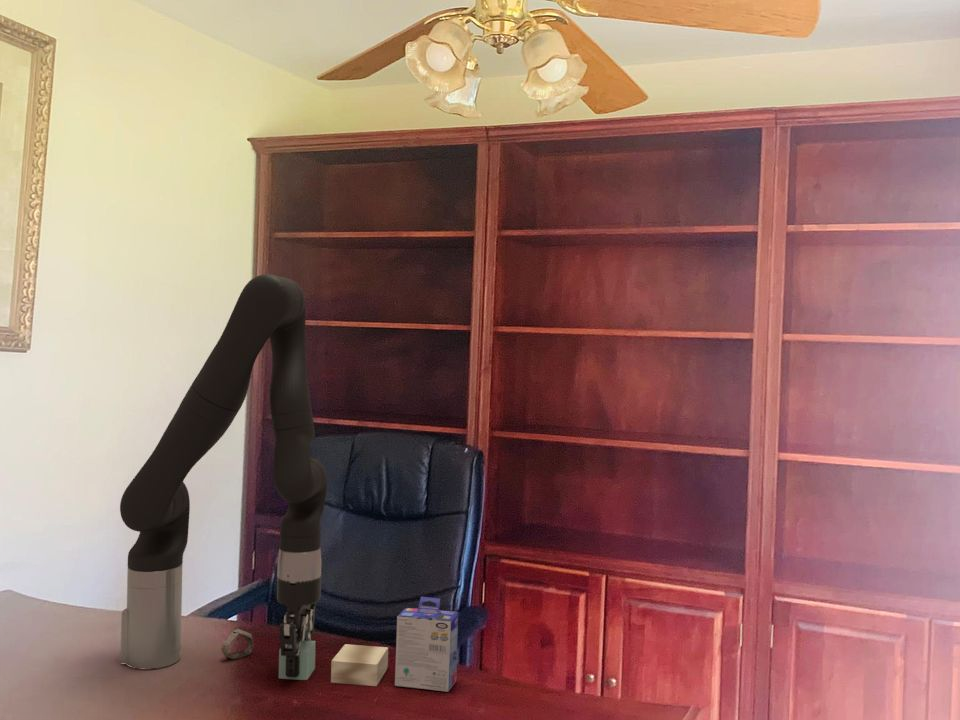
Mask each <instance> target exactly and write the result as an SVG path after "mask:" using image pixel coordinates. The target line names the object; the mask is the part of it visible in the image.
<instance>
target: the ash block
mask: <svg viewBox="0 0 960 720" xmlns="http://www.w3.org/2000/svg"><path fill="white" fill-rule="evenodd" d="M330 662H331V663H330V665H331V666H330V669H331V670H330V671H331V672H330V683H332V684H345V685H346V684H347V685H355V686H356V685H357V686H370V687H377V686H378V685H379V683H380V682H381V680H382V678H383V677H384V675H385V673H386V672H387V670H388V668H389V647H385V646H376V645H375V646H373V645H360V644H349V643H348V644H346V643H345V644H344V645H343V646H342V647H341V648H340V650H339V651H338V653H337V654H335V656H334V657H333V658H332V660H331V661H330Z"/></svg>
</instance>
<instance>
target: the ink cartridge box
mask: <svg viewBox="0 0 960 720" xmlns="http://www.w3.org/2000/svg"><path fill="white" fill-rule="evenodd" d="M427 602H432V603H434V604H435V606H429V605H423V603H427ZM440 606H441V598H439V597H431V596H430V597H428V596H420V599H419V603H418V607H417V608H413V607H412V608H411V607H406V608H404V609H403V610H402V611H401V612H400V613H399V614H398V615H397V616H396V637H395V638H396V639H395V640H396V641H395V669H394V670H395V671H394V672H395V673H394V686H395V687H402V688H403V687H404V688H411V689H422V690H429V691H438V692H446V693H448V692H450V690H451V689H452V688H453V687H454V686H455V684H456V682H457V671H458V669H457V665H458V664H457V663H458V635H459V634H458V633H459V630H458V629H459V625H458V624H459V612H458V611H452V610H450V611H449V610H440Z"/></svg>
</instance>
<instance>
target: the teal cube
mask: <svg viewBox="0 0 960 720" xmlns="http://www.w3.org/2000/svg"><path fill="white" fill-rule="evenodd" d="M316 642H317V641H316V640H310V641H307V640H304V641H303V642H301V648H300V662H299V675H298V677H296V678H295V677H287V676H286V656H281V647H280V648H279V650H278V651H279V652H278V679H282V680H297V681H308V679H309V678H310V677H311V675H312V674H313V672H314V671H315V669H316ZM289 648H292V645H290V646H289Z"/></svg>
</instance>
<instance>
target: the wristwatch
mask: <svg viewBox="0 0 960 720" xmlns="http://www.w3.org/2000/svg"><path fill="white" fill-rule="evenodd" d="M238 636H240V637H243V638H245V640H246V642H247V643H246V644H247V645H246V646H247V647H246V648H245V650H244V651H242V652H237V651H236V653H229V652H228V651H229V647H230V645H232V643H233V642H234V641H235V640H236V638H237V637H238ZM254 647H255V645H254V637H253V635H252V634H251V633H249V632H247V631H244V630H242V629H239V628H236V629H233V630H232V631H231V633H230V635H229V636H228V638H227V639H226V640H225V641H224V642H223V644H222V647H221V652H222V655H224V656H225V657H226V658H229V659H231V660H238V659H242V658H244V657H247V656H249V655H250V654H251V653H252V651H253V649H254Z"/></svg>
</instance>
